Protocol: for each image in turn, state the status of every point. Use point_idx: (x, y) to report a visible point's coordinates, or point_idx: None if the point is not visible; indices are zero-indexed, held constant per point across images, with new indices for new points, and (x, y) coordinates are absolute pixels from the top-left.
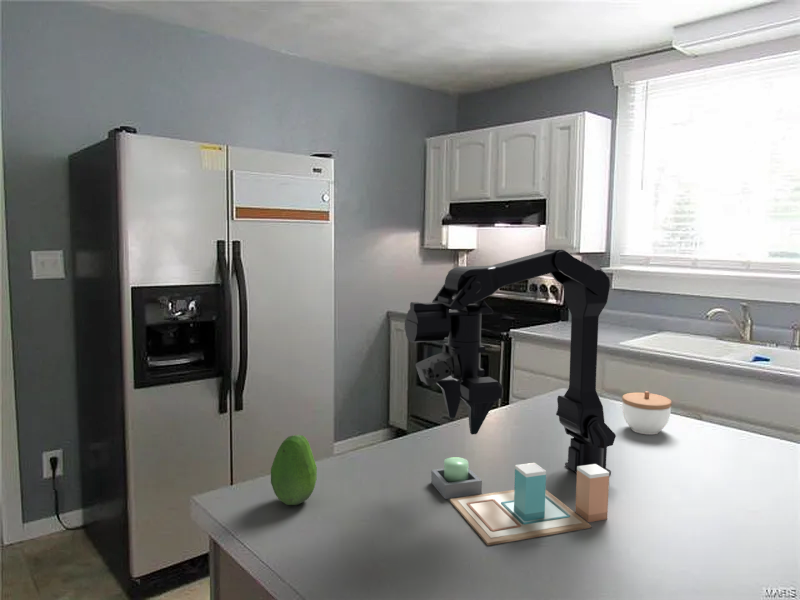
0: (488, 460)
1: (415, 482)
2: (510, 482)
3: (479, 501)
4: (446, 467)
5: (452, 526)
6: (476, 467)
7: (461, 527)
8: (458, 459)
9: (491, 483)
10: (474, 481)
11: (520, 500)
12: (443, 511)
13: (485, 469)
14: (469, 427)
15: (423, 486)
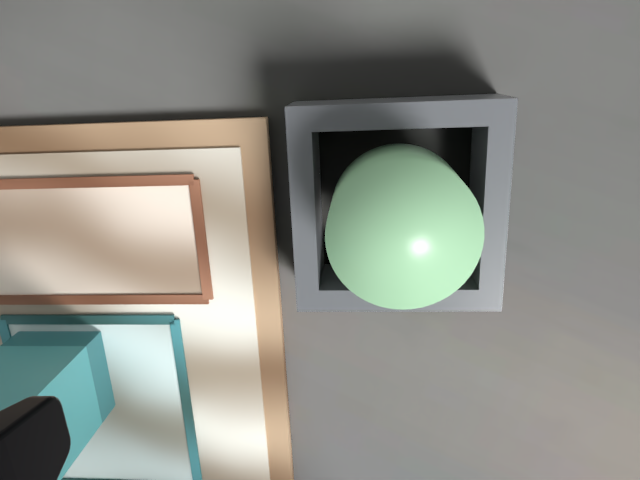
0: (634, 454)
1: (534, 3)
2: (378, 435)
3: (200, 237)
4: (381, 158)
5: (36, 42)
6: (582, 374)
7: (25, 79)
8: (435, 265)
9: (393, 363)
10: (295, 273)
11: (9, 368)
12: (176, 49)
13: (543, 401)
14: (8, 430)
15: (468, 34)
